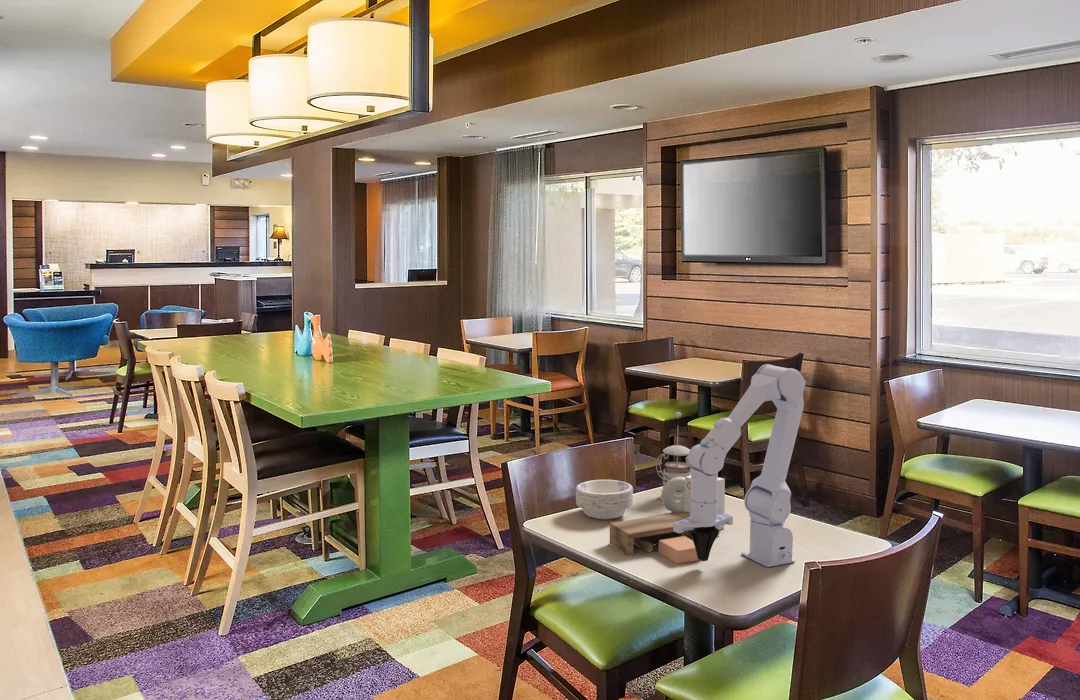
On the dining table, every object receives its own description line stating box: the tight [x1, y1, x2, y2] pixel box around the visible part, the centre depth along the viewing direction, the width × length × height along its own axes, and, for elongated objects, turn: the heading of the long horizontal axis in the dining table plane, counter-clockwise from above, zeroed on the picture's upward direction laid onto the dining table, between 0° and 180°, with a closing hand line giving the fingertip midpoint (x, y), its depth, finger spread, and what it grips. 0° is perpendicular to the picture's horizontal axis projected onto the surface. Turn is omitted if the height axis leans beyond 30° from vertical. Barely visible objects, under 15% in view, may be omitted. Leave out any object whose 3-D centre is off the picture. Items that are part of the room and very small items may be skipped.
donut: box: [660, 477, 685, 514], centre depth 228 cm, size 10×4×10 cm, turn 105°
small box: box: [685, 475, 726, 531], centre depth 216 cm, size 8×6×13 cm
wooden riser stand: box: [609, 512, 691, 557], centre depth 205 cm, size 9×22×5 cm, turn 114°
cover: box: [658, 536, 700, 565], centre depth 196 cm, size 8×7×3 cm
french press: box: [655, 411, 691, 501], centre depth 242 cm, size 10×12×25 cm
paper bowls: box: [575, 479, 634, 520], centre depth 227 cm, size 15×15×8 cm
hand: (702, 559), depth 188 cm, fingers closed
